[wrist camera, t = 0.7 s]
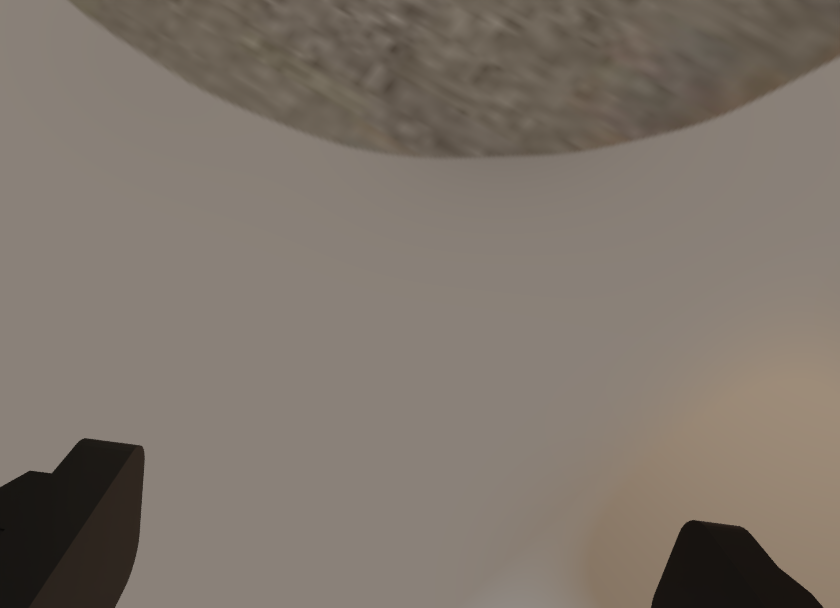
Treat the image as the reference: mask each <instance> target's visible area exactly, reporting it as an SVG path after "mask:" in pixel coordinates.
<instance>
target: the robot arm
mask: <svg viewBox="0 0 840 608" xmlns="http://www.w3.org/2000/svg"><path fill="white" fill-rule="evenodd" d="M144 457H145V456H144V449H143V447H142V446H140V445H133V444H125V443H117V442H110V441H102V440H94V439H87V438H84V439H82V440H80V441H79V442H78V443H77V444H76V445H75V447H74V448H73V449H72V450H71V451H70V452H69V454H68V455H67V456H66V457H65V458H64V460H63V461H62V462H61V463H60V464H59V466H58V467H57V468H56V469H55V470H54V472H53V473H44V472H36V471H28V472H27V473H25V474H23V475H21V476H20V477H18V478H16V479H14V480H12V481H11V482H9V483H7V484H5V485H3V486H2V487H0V608H115V606H116V604H117V602H118V600H119V598H120V596H121V594H122V592H123V590H124V588H125V586H126V584H127V582H128V579H129V577H130V574H131V571H132V567H133V564H134V561H135V557H136V553H137V548H138V542H139V533H140V518H141V504H142V490H143V476H144V460H145V458H144ZM651 608H823V607H822V605H821V604H820V603H819V602H818V601H817V600H816V599H815V597H814V596H813V595H812V594H811V593H810V592H809V591H808V590H806V589H805V588H804V587H803V586H801V585H800V584H799V583H797V582H796V581H795V580H794V579H792V578H791V577H790V576H789V575H787V574H786V573H785V572H784V571H782V570H781V569H780V568H779V567H778V566H777V565H776V564H775V563H774V561H773V560H772V559H771V558H770V557H769V556H768V554H767V553H766V552H765V551H764V549H763V548H762V547H761V546H760V545H759V543H758V542H757V541H756V540H755V539H754V537H753V536H752V535H751V534H750V533H749V532H748V531H747V530H745V529H744V528H742V527H740V526H734V525H726V524H718V523H711V522H704V521H695V520H692V521H689V522H687V523H686V524H685V525H684V526H683V527H682V528H681V531H680V532H679V535H678V538H677V540H676V542H675V545H674V547H673V550H672V552H671V555H670V557H669V560H668V562H667V565H666V567H665V570H664V572H663V575H662V578H661V580H660V582H659V584H658V587H657V589H656V592H655V594H654V598H653V601H652V606H651Z"/></svg>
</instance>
